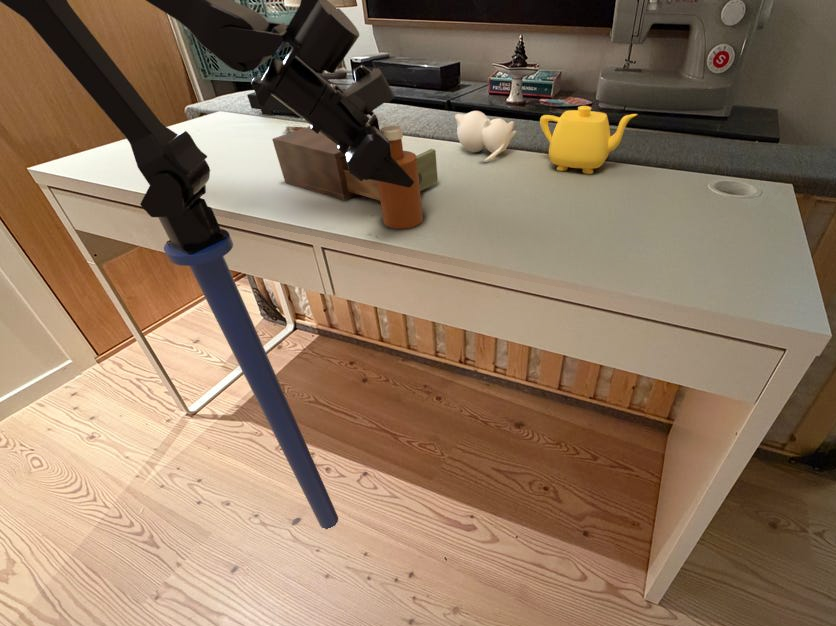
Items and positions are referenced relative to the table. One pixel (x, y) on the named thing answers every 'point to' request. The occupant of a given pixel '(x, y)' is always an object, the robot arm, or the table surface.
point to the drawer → (370, 187)
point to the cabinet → (312, 162)
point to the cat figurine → (483, 133)
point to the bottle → (400, 187)
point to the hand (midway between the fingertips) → (406, 174)
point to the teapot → (581, 138)
